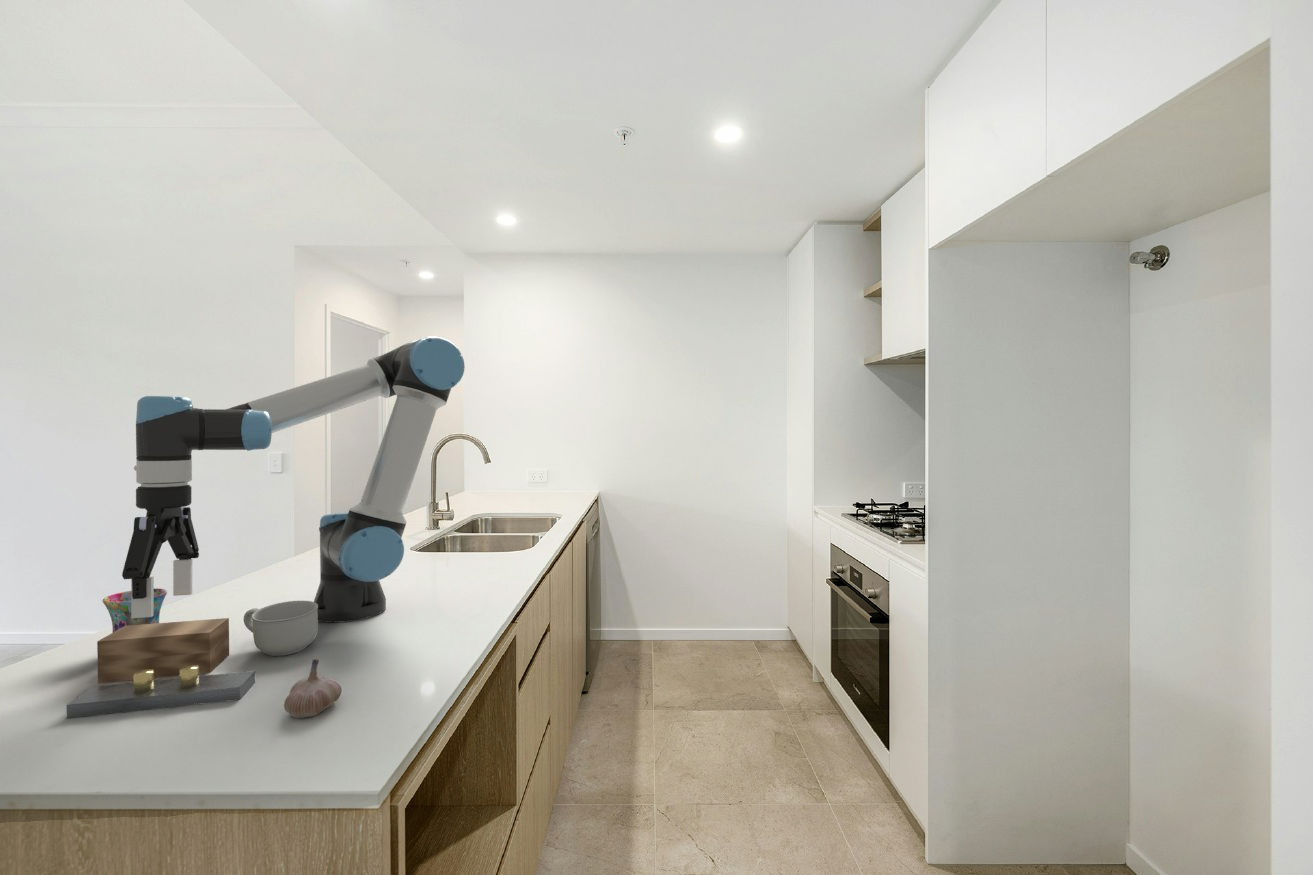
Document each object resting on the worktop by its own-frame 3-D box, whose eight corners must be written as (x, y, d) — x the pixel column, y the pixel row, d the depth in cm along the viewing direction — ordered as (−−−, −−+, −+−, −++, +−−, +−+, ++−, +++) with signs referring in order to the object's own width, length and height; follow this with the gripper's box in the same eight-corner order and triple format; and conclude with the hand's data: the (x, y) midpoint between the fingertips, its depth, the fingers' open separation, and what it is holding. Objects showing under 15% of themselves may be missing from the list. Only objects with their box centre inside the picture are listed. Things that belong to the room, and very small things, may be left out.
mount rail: (255, 682, 100) (254, 655, 99) (240, 699, 93) (239, 670, 93) (94, 698, 93) (93, 669, 93) (66, 718, 87) (66, 687, 87)
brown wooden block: (229, 655, 111) (228, 617, 111) (210, 672, 104) (209, 632, 103) (125, 664, 107) (125, 625, 107) (98, 683, 99) (97, 641, 99)
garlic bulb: (339, 695, 95) (339, 645, 95) (344, 713, 89) (343, 660, 89) (283, 707, 91) (283, 655, 91) (284, 727, 85) (284, 672, 85)
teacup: (331, 643, 117) (331, 603, 117) (280, 664, 107) (280, 620, 107) (279, 635, 122) (278, 596, 122) (225, 654, 112) (225, 612, 111)
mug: (153, 656, 111) (153, 599, 110) (91, 662, 108) (90, 603, 108) (183, 634, 122) (182, 583, 122) (127, 639, 119) (127, 586, 119)
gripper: (174, 478, 115) (174, 588, 116) (93, 492, 91) (92, 629, 92) (219, 478, 118) (219, 585, 118) (151, 491, 94) (151, 626, 94)
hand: (163, 605), depth 105 cm, fingers open, 13 cm apart
